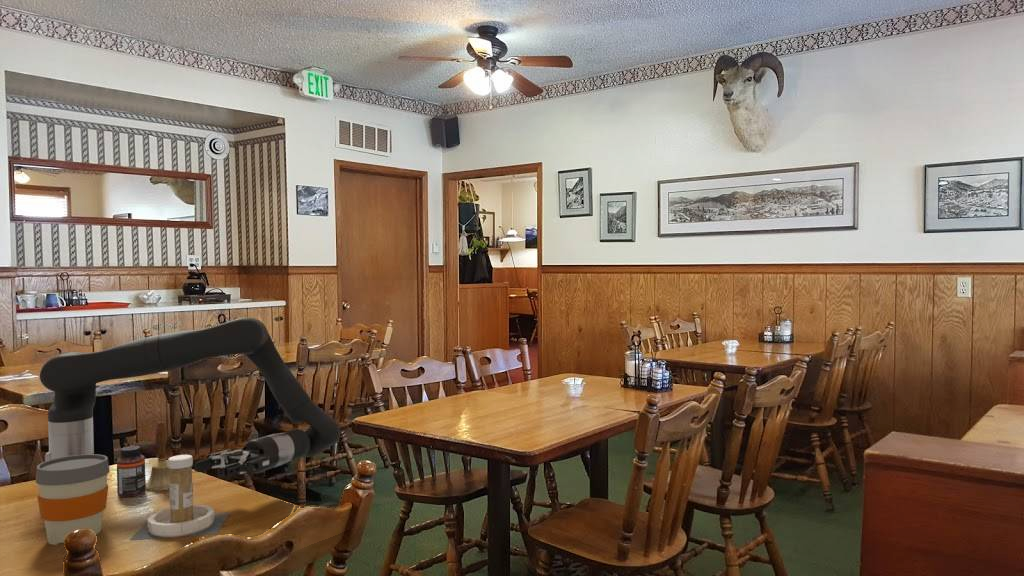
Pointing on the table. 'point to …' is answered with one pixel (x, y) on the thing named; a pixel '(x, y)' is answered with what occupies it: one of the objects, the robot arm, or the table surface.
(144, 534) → the mat
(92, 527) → the reusable coffee cup
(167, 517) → the white round tray
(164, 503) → the table surface
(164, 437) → the hand bell
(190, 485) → the sprinkles bottle
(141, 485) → the supplement bottle
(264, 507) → the table surface
